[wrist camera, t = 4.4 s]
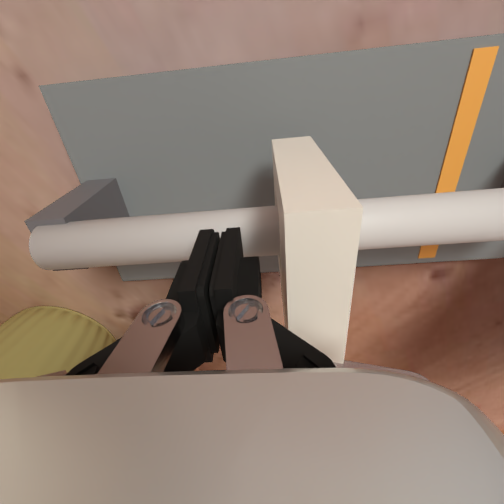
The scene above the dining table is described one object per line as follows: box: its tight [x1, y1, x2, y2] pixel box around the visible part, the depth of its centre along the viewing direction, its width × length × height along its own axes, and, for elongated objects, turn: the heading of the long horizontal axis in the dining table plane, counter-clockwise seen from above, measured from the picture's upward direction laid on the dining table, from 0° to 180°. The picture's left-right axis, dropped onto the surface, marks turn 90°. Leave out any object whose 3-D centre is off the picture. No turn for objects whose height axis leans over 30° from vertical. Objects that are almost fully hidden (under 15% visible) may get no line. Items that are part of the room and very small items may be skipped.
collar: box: [272, 136, 363, 364], centre depth 13 cm, size 7×2×9 cm, turn 5°
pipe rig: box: [24, 34, 504, 281], centre depth 16 cm, size 14×30×9 cm, turn 95°
